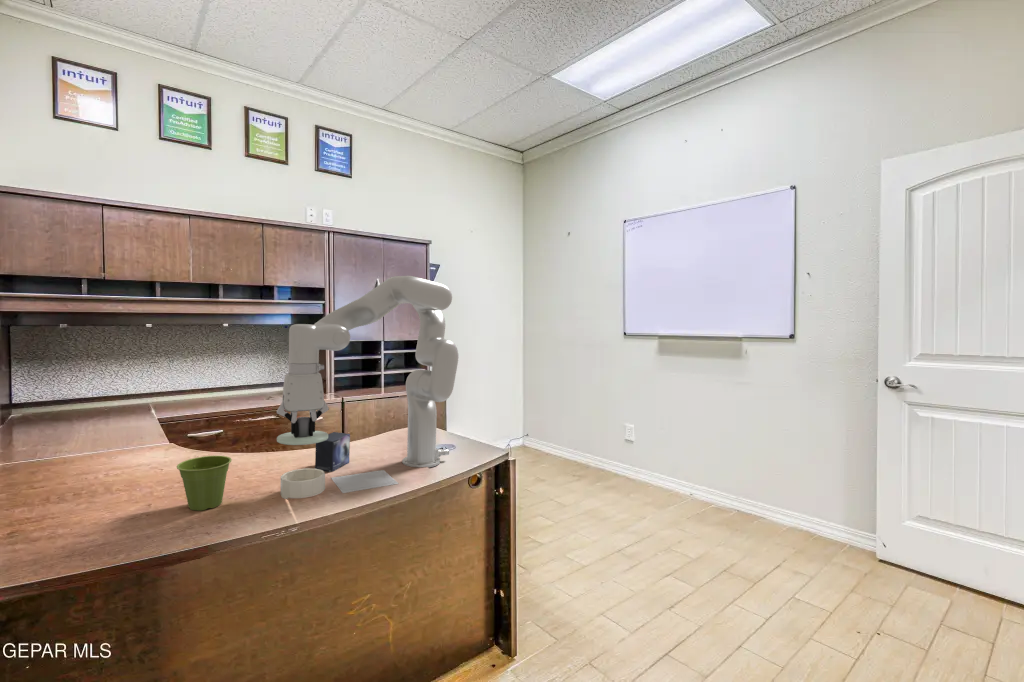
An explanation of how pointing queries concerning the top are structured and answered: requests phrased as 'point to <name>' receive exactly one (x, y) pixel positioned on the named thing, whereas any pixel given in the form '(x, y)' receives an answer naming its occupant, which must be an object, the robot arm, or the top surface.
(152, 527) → the top surface
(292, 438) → the lid
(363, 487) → the mat
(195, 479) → the plant pot
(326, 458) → the small box
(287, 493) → the bowl
